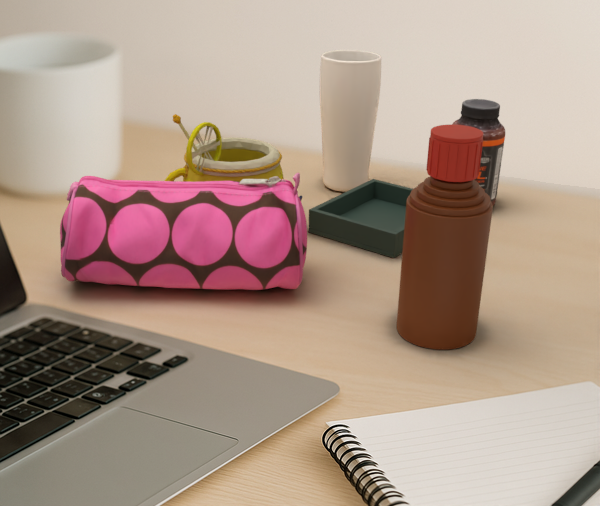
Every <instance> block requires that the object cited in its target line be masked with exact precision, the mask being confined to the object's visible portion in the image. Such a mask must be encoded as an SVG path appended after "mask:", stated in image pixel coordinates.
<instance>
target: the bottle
mask: <svg viewBox="0 0 600 506" xmlns="http://www.w3.org/2000/svg"><path fill="white" fill-rule="evenodd" d="M412 189H413V190H412V191H411V193H410V195H409V196H408V198H407V201H406V214H405V226H404V239H403V251H402V253H401V264H400V277H399V288H398V302H397V314H396V330H397V333H398V335H399V336H400V337H401V338H403V340H405V341H406V342H408V343H410V344H413V345H415V346H417V347H421V348H425V349H430V350H439V351H440V350H441V351H445V350H447V351H448V350H456V349H461V348H463V347H466V346H468V345H469V344H471V343H472V342H473V341H474V340H475V338H476V336H477V330H478V325H479V324H478V323H479V314H480V308H481V307H480V306H481V300H482V292H483V285H484V279H485V278H484V277H485V272H486V271H485V270H486V263H487V255H488V247H489V241H490V240H489V239H490V231H491V224H492V218H493V217H492V216H493V211H494V210H493V209H494V206H493V205H492V203H491V200H490V197H489V195H488V194H487V193H485V191H484V189H483V188H482V187H480V186H479V183H478V182H477V181H475V180H472V181H467V182H447V181H442V180H438V179H435V178H433V177H431V176H427V177H426V178H424V180H423V181H422V182H420V183H419V184H418V185H417V186H416V187H414V188H412Z"/></svg>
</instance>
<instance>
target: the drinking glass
mask: <svg viewBox="0 0 600 506" xmlns="http://www.w3.org/2000/svg"><path fill="white" fill-rule="evenodd" d="M319 66H320V68H319V112H320V114H319V115H320V127H321V128H320V129H321V131H320V132H321V147H322V149H321V150H322V183H323V184H324V186H325V187H326V188H327V189H330V190H332V191H335V192H340V193H341V192H342V193H345V192H347V191H349V190H351V189H353V188H355V187H357V186H359V185H361V184H364V183H366V182H368V181H370V180H369V179H370V178H369V177H370V166H371V159H372V150H373V143H374V136H375V131H376V123H377V116H378V110H379V103H380V96H381V84H382V56H381V55H380V54H378V53H376V52H372V51H367V50H360V49H337V50H336V49H335V50H329V51H326V52H325V51H324V52H323V53H322V54H321V56H320V65H319Z"/></svg>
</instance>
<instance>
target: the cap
mask: <svg viewBox="0 0 600 506" xmlns="http://www.w3.org/2000/svg"><path fill="white" fill-rule="evenodd" d="M428 138H429V139H428V146H427V159H426V169H425V170H426V173H427V175H428V177H430V176H431V177H433V178H435V179H438V180H442V181H447V182H467V181H472V180H474V179H476V178H477V177H478V175H479V171H480V163H481V154H482V146H483V132H482V131H481V130H479V129H477V128H474V127H470V126H465V125H452V124H439V125H436V126H433V127H432V128H430V135H429V137H428Z"/></svg>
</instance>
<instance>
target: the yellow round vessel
mask: <svg viewBox="0 0 600 506" xmlns="http://www.w3.org/2000/svg"><path fill="white" fill-rule="evenodd" d="M181 119H182V117H181V116H180V115H178V114H176V113H174V114H173V115H172V121H173V123H175V124H177V125H178V127H179V128H180V129H181V131H182V132H183V134H184V135H185V137H186V139H187V140H188V141H187V144H186V149H185V153H184V155H183V160H184V162H185V165H184V166H183V167H180V168H177V169H175V170H173V171H171V172H169V174H168V175H167V176H166V178H165V179H164V181H176V179H178V178H180V177H182V182H205V181H238V182H240V181H241V180H242V179H267V180H269V178H271V177H274V176H278V177H279V178H280V179H281V180H282V179H284V180H285V177H284V172H283V169H282V166H281V160H282V158H283V155H282V153H281V151H279V150H278V148H277V147H276V146H275V145H272V144H271V143H269V142H266V141H264V140H260V139H256V138H255V139H254V138H248V137H222V134H221V131H220V129H219V127H218V126H217V125H216V124H214V123H212V122H208V121H203V122H201V123H199V124H198V125H197V126H195V128H194V129H193V130H192V131H191V134H190V135H189V133H188V131H187V130H186V128H185V126H184V125H183V123H182V121H181ZM205 127H206V129H205V135H204V138H203V137H202V135H201V134H200V131H201V130H202V129H203V128H205ZM213 132H214V135H215V138H212V139H211V136H212V133H213ZM208 133H209V134H208ZM207 136H208V139H207ZM203 139H204V140H203ZM195 140H196V141H197V143H194V141H195Z"/></svg>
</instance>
